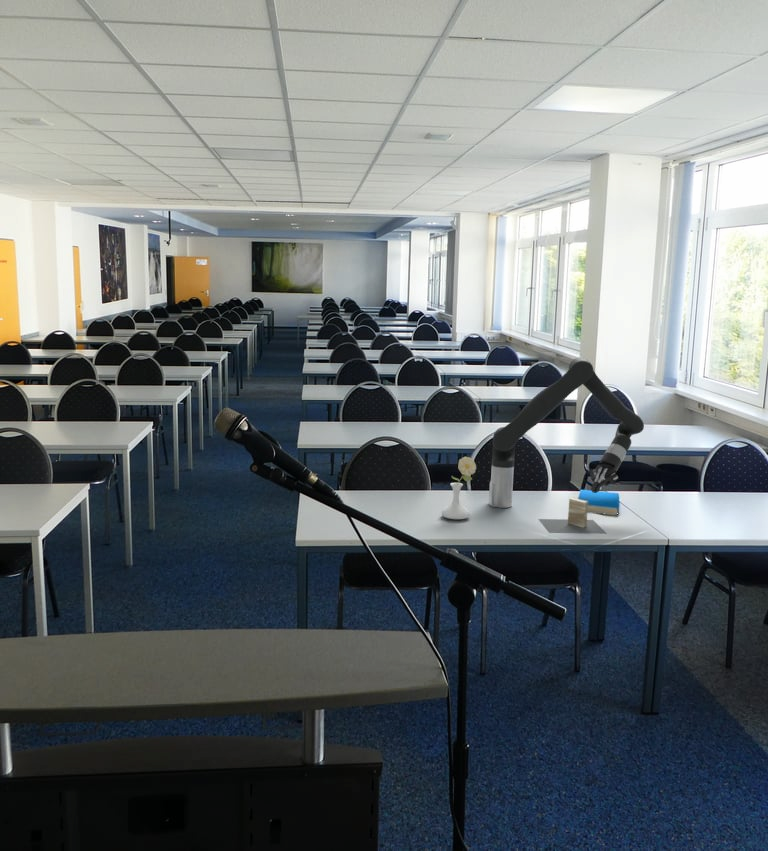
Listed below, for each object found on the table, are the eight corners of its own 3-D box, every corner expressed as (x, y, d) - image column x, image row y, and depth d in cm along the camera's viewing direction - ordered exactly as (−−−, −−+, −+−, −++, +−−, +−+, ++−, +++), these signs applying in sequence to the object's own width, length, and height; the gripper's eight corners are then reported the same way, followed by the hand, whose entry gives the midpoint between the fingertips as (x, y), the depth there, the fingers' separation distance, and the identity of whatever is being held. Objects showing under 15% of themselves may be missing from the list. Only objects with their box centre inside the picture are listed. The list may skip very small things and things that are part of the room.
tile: (582, 527, 302) (584, 502, 300) (567, 523, 307) (569, 498, 305) (586, 526, 303) (588, 501, 302) (571, 522, 309) (573, 497, 307)
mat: (549, 534, 295) (549, 532, 294) (538, 520, 312) (538, 519, 312) (607, 535, 295) (607, 533, 295) (592, 521, 313) (593, 519, 313)
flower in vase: (443, 521, 307) (445, 459, 303) (439, 513, 318) (441, 453, 314) (476, 522, 308) (479, 459, 304) (471, 514, 319) (473, 453, 315)
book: (576, 503, 327) (579, 488, 350) (576, 513, 328) (579, 498, 351) (619, 507, 322) (619, 492, 346) (618, 517, 323) (619, 501, 346)
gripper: (595, 449, 318) (575, 482, 312) (624, 454, 308) (604, 489, 302) (602, 460, 323) (582, 493, 317) (631, 466, 313) (611, 500, 307)
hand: (593, 491), depth 310 cm, fingers closed
